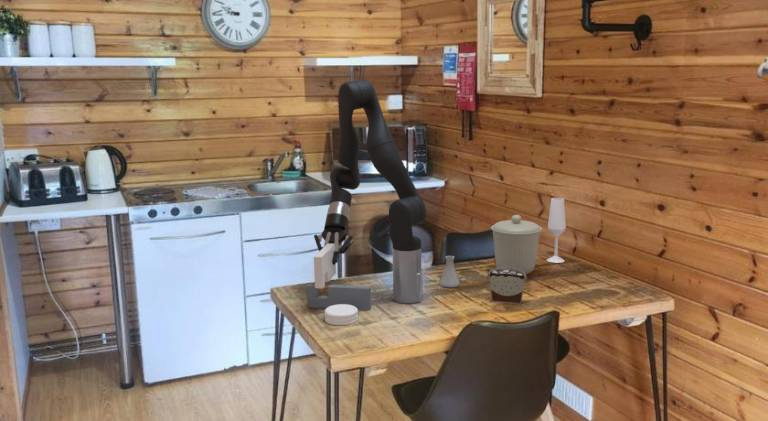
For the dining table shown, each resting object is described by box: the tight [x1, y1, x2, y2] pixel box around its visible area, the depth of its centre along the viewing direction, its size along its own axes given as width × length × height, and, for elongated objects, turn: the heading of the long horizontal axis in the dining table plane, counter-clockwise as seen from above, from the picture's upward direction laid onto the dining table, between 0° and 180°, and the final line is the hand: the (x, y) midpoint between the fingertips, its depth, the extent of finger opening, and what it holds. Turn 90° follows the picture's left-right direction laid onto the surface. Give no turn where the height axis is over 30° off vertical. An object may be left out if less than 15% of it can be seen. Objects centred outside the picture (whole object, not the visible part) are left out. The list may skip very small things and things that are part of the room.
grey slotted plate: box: [306, 283, 372, 311], centre depth 221 cm, size 20×2×7 cm, turn 79°
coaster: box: [324, 304, 359, 326], centre depth 211 cm, size 10×10×4 cm
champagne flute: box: [546, 197, 567, 264], centre depth 267 cm, size 7×7×24 cm
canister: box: [490, 214, 543, 275], centre depth 254 cm, size 18×18×21 cm
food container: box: [487, 267, 527, 305], centre depth 225 cm, size 12×6×10 cm, turn 71°
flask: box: [439, 255, 461, 288], centre depth 241 cm, size 7×7×10 cm
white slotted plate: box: [313, 243, 337, 289], centre depth 224 cm, size 16×2×10 cm, turn 169°
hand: (329, 263), depth 228 cm, fingers closed on white slotted plate, 2 cm apart
